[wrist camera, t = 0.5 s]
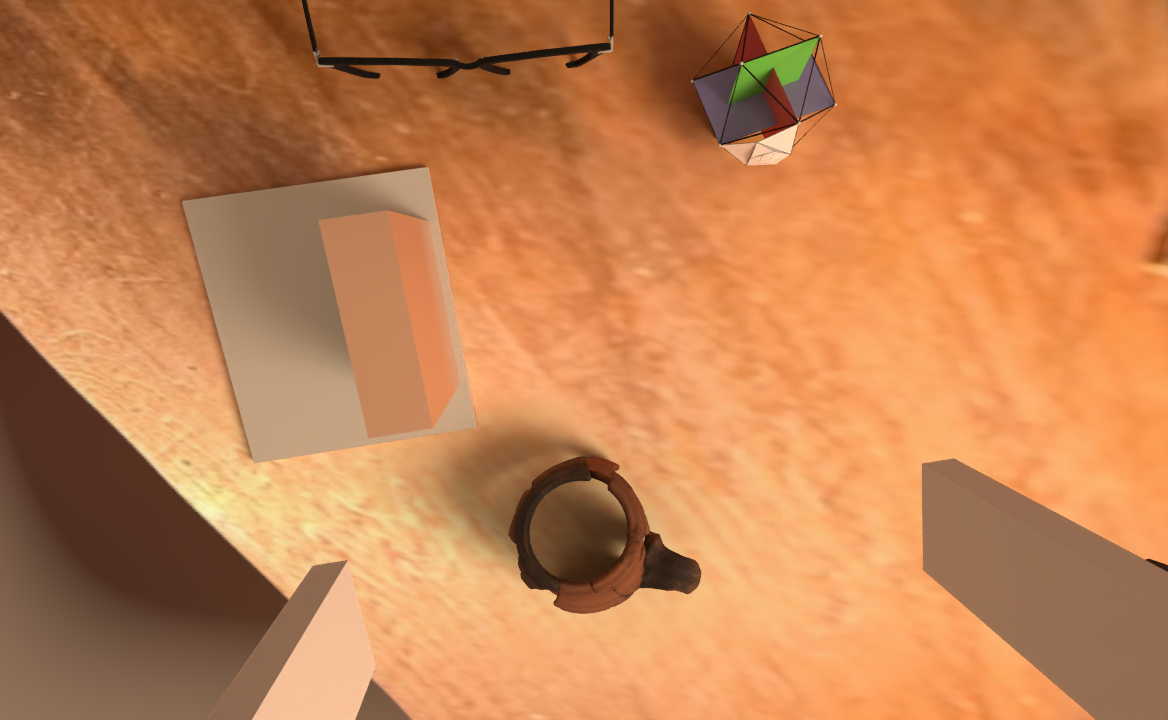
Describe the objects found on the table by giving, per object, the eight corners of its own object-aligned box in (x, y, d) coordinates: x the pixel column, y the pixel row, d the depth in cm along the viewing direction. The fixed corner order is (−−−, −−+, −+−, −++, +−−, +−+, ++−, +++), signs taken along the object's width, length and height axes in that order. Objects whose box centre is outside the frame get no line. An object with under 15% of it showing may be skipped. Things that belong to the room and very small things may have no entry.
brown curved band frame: (512, 587, 39) (481, 597, 31) (545, 454, 42) (524, 433, 34) (685, 632, 37) (697, 655, 30) (708, 489, 40) (725, 476, 32)
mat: (185, 201, 32) (181, 201, 32) (428, 168, 33) (427, 167, 33) (257, 460, 36) (254, 463, 35) (477, 426, 36) (476, 427, 36)
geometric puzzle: (672, 20, 31) (734, 74, 25) (789, -21, 31) (875, 24, 25) (683, 140, 36) (736, 205, 31) (783, 104, 36) (853, 163, 31)
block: (377, 228, 33) (317, 220, 24) (428, 221, 33) (387, 210, 24) (411, 391, 35) (367, 438, 26) (460, 383, 35) (432, 428, 26)
